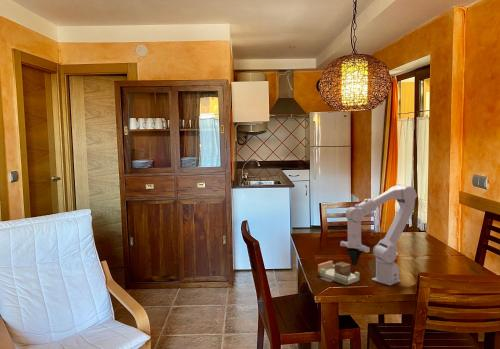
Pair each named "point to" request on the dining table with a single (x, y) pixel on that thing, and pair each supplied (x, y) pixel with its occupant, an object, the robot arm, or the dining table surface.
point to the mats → (326, 279)
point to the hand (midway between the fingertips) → (354, 264)
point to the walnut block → (342, 269)
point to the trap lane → (329, 272)
